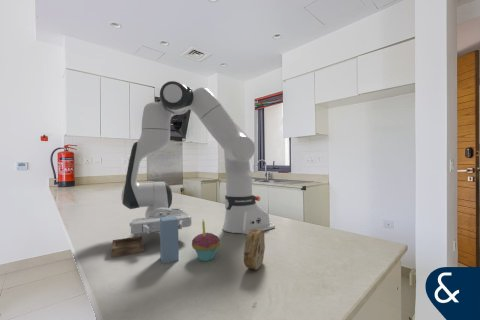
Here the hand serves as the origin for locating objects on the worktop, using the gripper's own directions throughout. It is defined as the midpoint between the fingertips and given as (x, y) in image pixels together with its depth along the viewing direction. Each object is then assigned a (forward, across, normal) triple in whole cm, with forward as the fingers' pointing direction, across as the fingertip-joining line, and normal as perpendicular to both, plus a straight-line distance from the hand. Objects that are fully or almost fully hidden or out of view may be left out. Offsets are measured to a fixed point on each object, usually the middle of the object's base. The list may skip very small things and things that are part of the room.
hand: (165, 228), depth 76 cm
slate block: (+8, 0, +7) cm, 10 cm away
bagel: (+24, +20, +7) cm, 32 cm away
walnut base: (-6, -11, +7) cm, 14 cm away
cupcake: (+12, +10, +7) cm, 17 cm away
